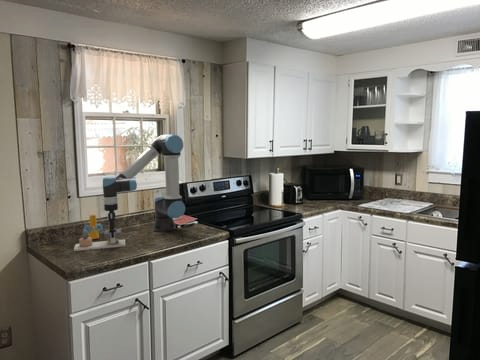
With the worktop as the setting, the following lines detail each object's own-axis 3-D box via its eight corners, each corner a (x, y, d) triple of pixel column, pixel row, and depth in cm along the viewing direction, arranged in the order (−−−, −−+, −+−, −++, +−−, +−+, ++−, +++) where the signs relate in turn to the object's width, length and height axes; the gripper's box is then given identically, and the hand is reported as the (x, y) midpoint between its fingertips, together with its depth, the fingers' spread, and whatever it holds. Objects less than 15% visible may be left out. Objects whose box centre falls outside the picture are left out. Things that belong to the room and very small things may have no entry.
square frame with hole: (120, 232, 232) (120, 228, 231) (120, 236, 223) (120, 232, 223) (105, 234, 229) (105, 230, 229) (104, 238, 220) (104, 233, 220)
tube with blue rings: (96, 235, 250) (95, 212, 248) (107, 237, 245) (106, 214, 243) (80, 239, 239) (78, 216, 238) (91, 241, 234) (89, 217, 232)
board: (125, 241, 234) (125, 239, 234) (125, 246, 223) (125, 244, 223) (76, 245, 226) (75, 243, 225) (73, 251, 215) (73, 249, 215)
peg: (92, 243, 226) (91, 228, 225) (91, 246, 220) (90, 231, 219) (80, 244, 224) (79, 229, 223) (78, 247, 218) (77, 232, 217)
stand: (118, 240, 230) (118, 228, 229) (118, 243, 224) (117, 231, 223) (107, 241, 228) (106, 229, 228) (107, 244, 222) (106, 232, 221)
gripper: (104, 200, 233) (107, 236, 236) (103, 207, 212) (105, 246, 215) (117, 200, 235) (120, 235, 238) (117, 206, 214) (119, 245, 217)
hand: (113, 240), depth 226 cm, fingers closed on square frame with hole, 9 cm apart
